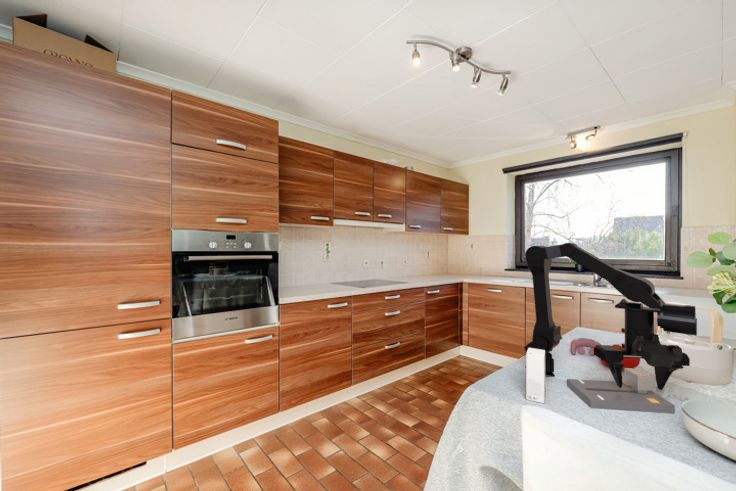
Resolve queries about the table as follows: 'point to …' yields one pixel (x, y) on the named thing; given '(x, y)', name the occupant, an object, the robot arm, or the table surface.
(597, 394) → the fader board
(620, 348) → the tomato
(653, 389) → the fader knob
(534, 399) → the skincare box
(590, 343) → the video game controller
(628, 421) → the table surface
